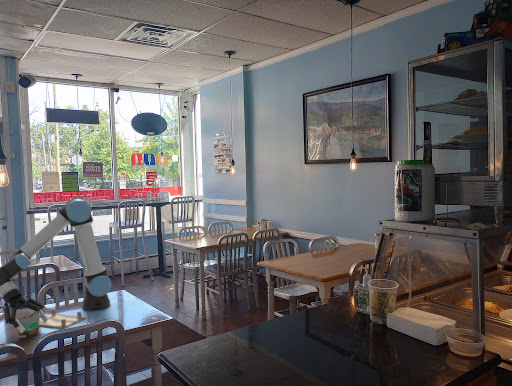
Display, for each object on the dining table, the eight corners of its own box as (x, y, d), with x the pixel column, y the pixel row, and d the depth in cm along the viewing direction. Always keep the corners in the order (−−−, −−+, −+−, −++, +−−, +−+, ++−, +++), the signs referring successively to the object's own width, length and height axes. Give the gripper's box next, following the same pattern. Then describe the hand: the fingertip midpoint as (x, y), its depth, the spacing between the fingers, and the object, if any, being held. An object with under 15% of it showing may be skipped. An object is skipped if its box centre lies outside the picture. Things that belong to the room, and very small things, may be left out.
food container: (28, 341, 187) (27, 319, 187) (16, 340, 188) (15, 319, 188) (47, 330, 199) (46, 310, 199) (36, 330, 200) (35, 310, 200)
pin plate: (53, 315, 221) (53, 308, 221) (85, 318, 215) (84, 311, 214) (31, 325, 207) (30, 317, 206) (64, 329, 200) (63, 321, 200)
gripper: (27, 290, 209) (51, 321, 206) (-19, 306, 186) (8, 341, 182) (34, 281, 207) (59, 312, 204) (-11, 295, 184) (16, 331, 180)
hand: (35, 326), depth 193 cm, fingers open, 13 cm apart
